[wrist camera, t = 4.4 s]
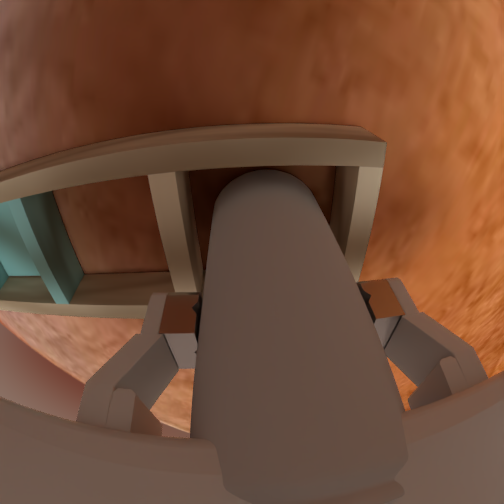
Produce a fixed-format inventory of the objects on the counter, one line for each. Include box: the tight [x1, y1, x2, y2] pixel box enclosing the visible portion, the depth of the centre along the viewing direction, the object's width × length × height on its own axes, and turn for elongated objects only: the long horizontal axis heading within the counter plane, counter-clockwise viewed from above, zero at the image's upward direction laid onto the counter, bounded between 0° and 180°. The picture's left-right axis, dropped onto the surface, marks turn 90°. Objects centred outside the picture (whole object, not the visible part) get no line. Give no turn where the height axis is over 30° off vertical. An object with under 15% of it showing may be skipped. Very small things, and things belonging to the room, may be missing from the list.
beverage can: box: [190, 170, 408, 504], centre depth 9 cm, size 5×5×12 cm
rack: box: [0, 123, 387, 319], centre depth 12 cm, size 8×24×2 cm, turn 92°
